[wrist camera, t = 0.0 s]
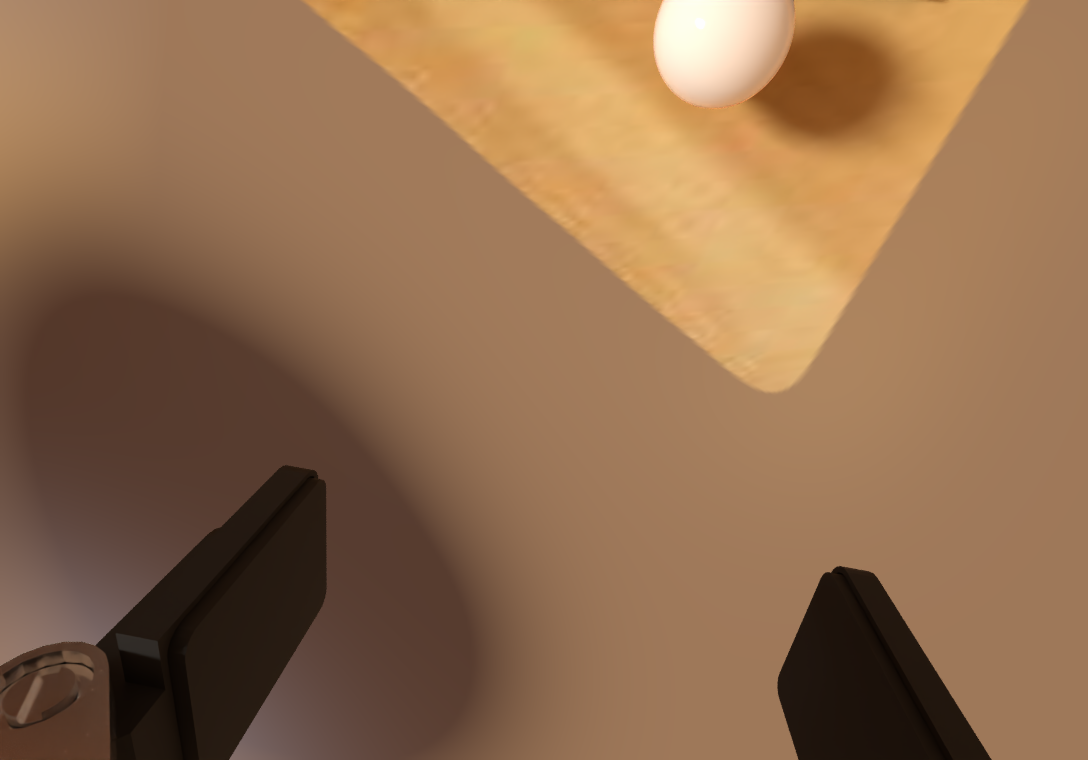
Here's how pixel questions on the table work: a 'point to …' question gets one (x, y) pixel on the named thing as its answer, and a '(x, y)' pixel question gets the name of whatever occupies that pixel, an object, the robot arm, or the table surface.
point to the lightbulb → (721, 47)
